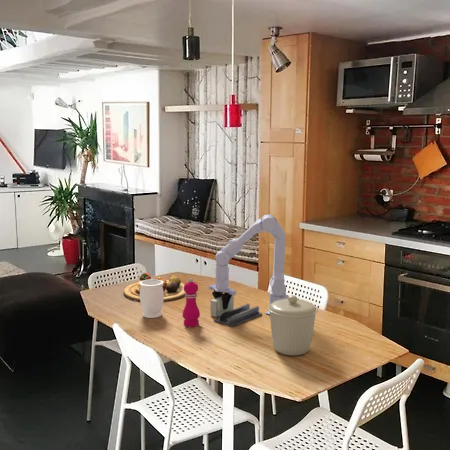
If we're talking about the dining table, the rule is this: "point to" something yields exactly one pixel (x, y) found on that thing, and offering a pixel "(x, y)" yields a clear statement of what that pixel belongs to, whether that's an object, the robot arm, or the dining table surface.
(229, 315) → the rail
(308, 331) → the canister
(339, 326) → the dining table surface
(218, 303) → the sage green block
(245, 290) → the dining table surface
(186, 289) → the pepper mill
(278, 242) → the robot arm
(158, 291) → the jar
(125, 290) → the wooden plate with food
